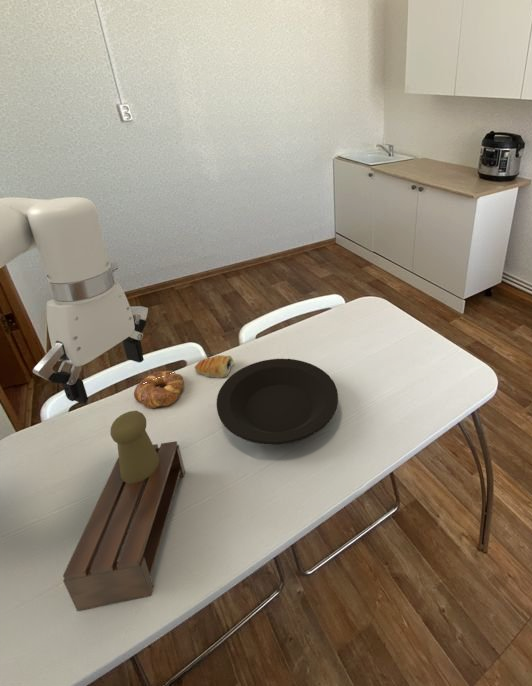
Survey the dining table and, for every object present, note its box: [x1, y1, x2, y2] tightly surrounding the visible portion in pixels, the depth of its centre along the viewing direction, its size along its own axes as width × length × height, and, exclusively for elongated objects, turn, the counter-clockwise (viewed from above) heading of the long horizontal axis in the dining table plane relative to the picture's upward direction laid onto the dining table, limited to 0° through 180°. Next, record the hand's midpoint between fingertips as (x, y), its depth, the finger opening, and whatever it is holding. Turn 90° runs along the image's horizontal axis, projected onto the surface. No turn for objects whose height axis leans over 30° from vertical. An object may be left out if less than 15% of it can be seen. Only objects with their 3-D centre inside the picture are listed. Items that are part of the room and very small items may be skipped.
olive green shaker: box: [110, 410, 160, 484], centre depth 65 cm, size 6×6×11 cm
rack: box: [62, 440, 186, 612], centre depth 63 cm, size 10×20×8 cm, turn 10°
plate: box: [216, 358, 339, 446], centre depth 87 cm, size 28×24×6 cm
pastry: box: [194, 354, 234, 379], centre depth 101 cm, size 9×7×4 cm
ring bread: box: [133, 370, 184, 409], centre depth 94 cm, size 12×11×4 cm
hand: (109, 378), depth 61 cm, fingers open, 9 cm apart
